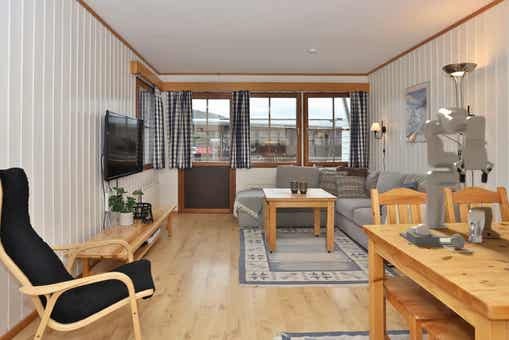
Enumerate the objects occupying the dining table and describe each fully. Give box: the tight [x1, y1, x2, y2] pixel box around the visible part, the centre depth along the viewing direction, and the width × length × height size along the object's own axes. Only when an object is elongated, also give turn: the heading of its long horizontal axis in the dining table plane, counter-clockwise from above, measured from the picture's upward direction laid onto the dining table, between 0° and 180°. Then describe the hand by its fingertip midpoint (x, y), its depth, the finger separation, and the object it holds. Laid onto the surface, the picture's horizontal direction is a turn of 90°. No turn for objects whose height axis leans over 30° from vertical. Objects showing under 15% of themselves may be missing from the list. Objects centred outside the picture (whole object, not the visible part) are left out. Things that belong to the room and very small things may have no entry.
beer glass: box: [467, 209, 485, 244], centre depth 181 cm, size 7×7×15 cm
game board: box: [398, 225, 475, 253], centre depth 179 cm, size 31×21×5 cm
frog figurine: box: [450, 233, 466, 250], centre depth 168 cm, size 6×7×7 cm
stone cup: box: [470, 205, 502, 239], centre depth 192 cm, size 15×12×15 cm
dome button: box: [416, 223, 431, 236], centre depth 179 cm, size 6×6×6 cm
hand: (473, 182), depth 168 cm, fingers open, 9 cm apart
